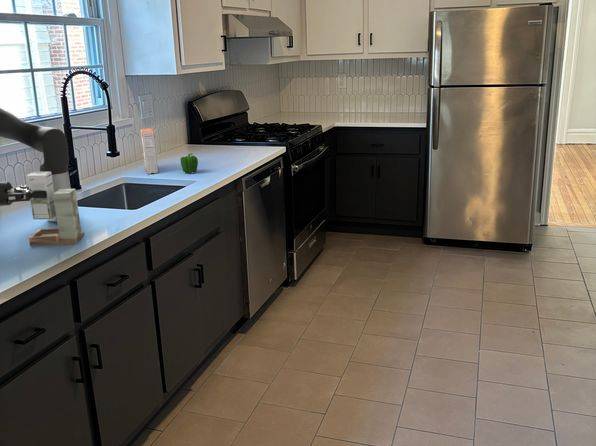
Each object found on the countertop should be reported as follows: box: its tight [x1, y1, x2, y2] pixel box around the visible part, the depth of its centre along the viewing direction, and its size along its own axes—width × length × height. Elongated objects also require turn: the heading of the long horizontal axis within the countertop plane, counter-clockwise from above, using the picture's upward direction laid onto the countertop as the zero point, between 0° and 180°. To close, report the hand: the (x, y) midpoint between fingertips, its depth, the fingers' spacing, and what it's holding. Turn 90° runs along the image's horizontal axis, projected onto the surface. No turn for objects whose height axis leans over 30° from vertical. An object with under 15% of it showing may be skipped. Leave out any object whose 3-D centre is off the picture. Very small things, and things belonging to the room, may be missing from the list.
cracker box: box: [140, 127, 159, 175], centre depth 289 cm, size 14×6×21 cm, turn 17°
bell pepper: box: [179, 152, 199, 174], centre depth 285 cm, size 8×8×10 cm
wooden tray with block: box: [28, 188, 85, 247], centre depth 187 cm, size 9×14×16 cm, turn 93°
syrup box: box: [26, 171, 56, 220], centre depth 185 cm, size 6×6×14 cm
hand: (49, 191), depth 184 cm, fingers closed on syrup box, 6 cm apart
